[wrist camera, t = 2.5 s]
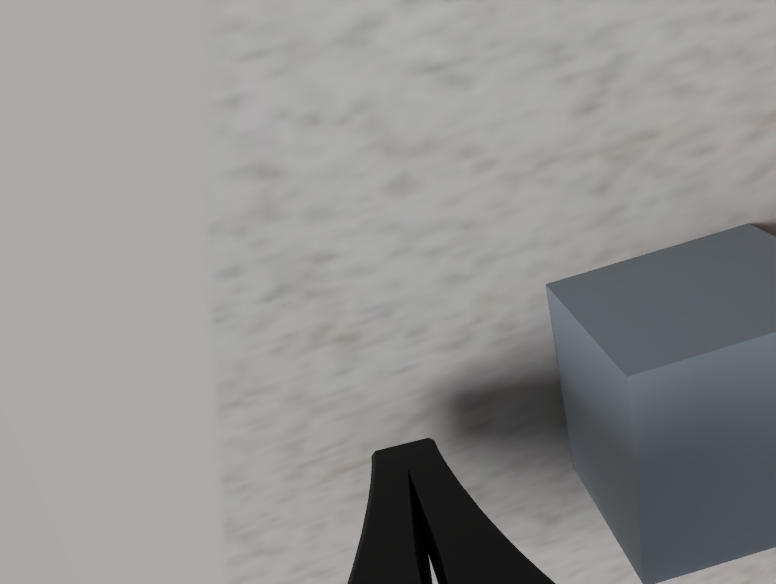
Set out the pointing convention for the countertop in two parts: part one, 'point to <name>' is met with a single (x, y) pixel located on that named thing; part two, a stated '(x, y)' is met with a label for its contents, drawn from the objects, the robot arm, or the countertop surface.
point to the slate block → (675, 398)
